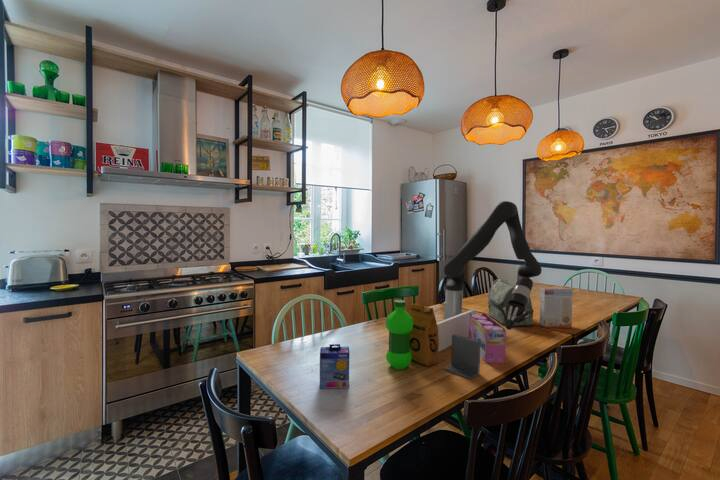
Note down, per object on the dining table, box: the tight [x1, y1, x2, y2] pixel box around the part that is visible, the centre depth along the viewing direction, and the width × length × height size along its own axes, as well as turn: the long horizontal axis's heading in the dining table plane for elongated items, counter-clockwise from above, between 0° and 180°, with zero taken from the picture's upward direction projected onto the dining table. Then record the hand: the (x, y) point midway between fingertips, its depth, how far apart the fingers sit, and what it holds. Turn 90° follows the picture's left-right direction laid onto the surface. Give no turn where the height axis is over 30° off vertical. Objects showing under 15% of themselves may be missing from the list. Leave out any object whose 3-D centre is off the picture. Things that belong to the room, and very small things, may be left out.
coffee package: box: [408, 302, 439, 367], centre depth 131 cm, size 10×12×22 cm
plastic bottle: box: [385, 299, 413, 370], centre depth 125 cm, size 10×10×25 cm
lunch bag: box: [487, 278, 534, 327], centre depth 188 cm, size 26×18×22 cm
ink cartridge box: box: [319, 343, 350, 390], centre depth 111 cm, size 10×6×14 cm, turn 95°
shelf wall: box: [437, 308, 477, 353], centre depth 150 cm, size 2×40×12 cm, turn 135°
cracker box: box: [539, 286, 574, 329], centre depth 176 cm, size 14×6×21 cm, turn 84°
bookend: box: [443, 334, 481, 380], centre depth 121 cm, size 10×6×12 cm, turn 45°
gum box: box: [468, 313, 507, 364], centre depth 141 cm, size 24×8×14 cm, turn 179°
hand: (508, 328), depth 147 cm, fingers closed
